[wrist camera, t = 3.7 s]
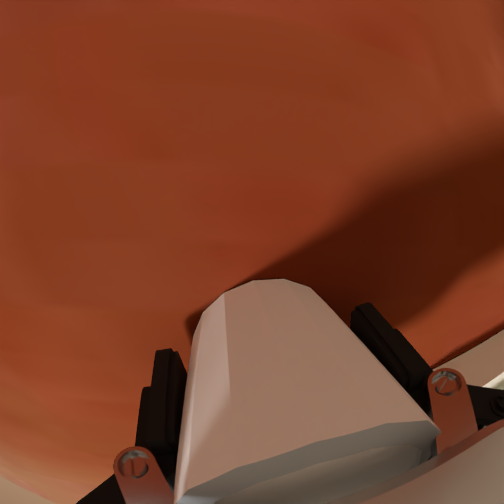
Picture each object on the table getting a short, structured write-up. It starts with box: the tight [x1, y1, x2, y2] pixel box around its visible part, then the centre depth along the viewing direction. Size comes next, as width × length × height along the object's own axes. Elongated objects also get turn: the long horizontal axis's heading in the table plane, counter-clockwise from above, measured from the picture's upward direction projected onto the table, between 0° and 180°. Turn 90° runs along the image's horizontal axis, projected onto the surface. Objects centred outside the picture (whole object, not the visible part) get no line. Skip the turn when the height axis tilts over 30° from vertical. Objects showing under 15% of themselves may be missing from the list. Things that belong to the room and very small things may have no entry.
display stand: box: [432, 330, 504, 390], centre depth 15 cm, size 14×14×6 cm
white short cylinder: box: [174, 279, 441, 504], centre depth 9 cm, size 7×7×7 cm
